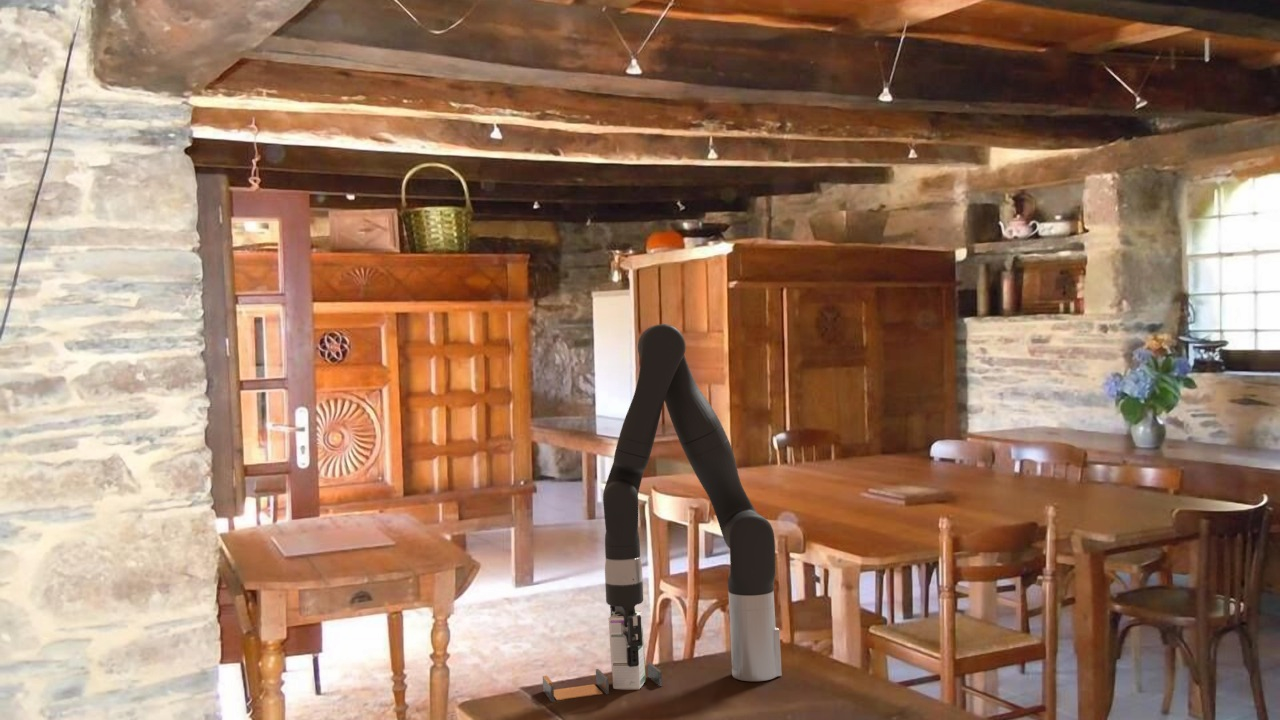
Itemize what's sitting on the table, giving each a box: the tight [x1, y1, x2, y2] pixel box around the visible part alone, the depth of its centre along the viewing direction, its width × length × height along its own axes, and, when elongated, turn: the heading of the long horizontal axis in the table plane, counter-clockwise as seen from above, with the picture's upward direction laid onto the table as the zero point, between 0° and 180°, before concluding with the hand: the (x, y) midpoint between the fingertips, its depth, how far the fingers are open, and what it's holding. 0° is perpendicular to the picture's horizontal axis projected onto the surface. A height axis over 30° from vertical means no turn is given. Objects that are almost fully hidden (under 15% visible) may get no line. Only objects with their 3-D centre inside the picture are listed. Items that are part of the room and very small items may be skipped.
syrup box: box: [608, 610, 647, 690], centre depth 216 cm, size 6×6×14 cm
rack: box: [542, 661, 663, 703], centre depth 214 cm, size 23×8×3 cm, turn 108°
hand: (627, 661), depth 216 cm, fingers closed on syrup box, 7 cm apart
